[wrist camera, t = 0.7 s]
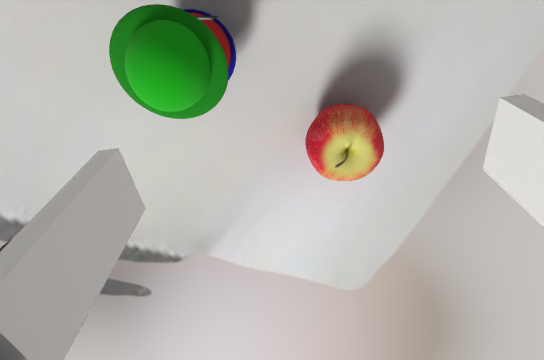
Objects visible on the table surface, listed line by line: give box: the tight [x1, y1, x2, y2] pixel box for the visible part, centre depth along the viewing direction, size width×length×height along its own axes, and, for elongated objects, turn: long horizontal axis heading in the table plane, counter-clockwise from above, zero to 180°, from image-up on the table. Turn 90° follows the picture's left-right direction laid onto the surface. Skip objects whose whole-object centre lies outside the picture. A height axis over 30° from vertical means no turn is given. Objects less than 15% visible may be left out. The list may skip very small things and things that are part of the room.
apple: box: [306, 104, 384, 181], centre depth 36 cm, size 8×8×10 cm
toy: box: [109, 4, 236, 119], centre depth 28 cm, size 9×9×15 cm
